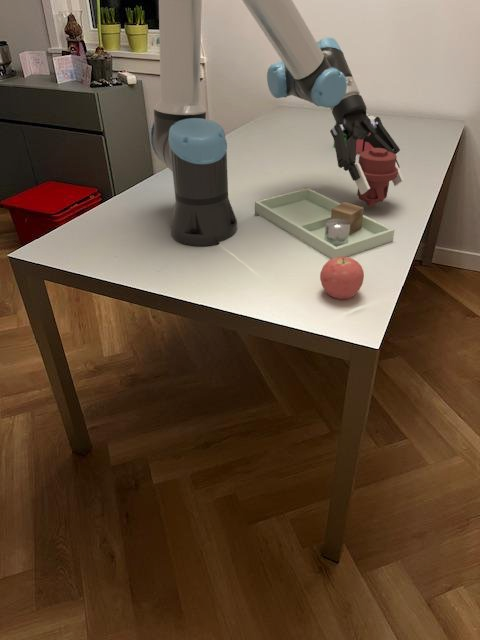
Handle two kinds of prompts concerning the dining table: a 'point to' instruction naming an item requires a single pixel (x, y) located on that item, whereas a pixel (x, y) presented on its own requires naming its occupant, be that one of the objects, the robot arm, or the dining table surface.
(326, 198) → the tray
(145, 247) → the dining table surface
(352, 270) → the apple
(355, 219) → the walnut block
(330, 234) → the metal ellipsoid
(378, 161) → the mechanical component
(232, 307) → the dining table surface
